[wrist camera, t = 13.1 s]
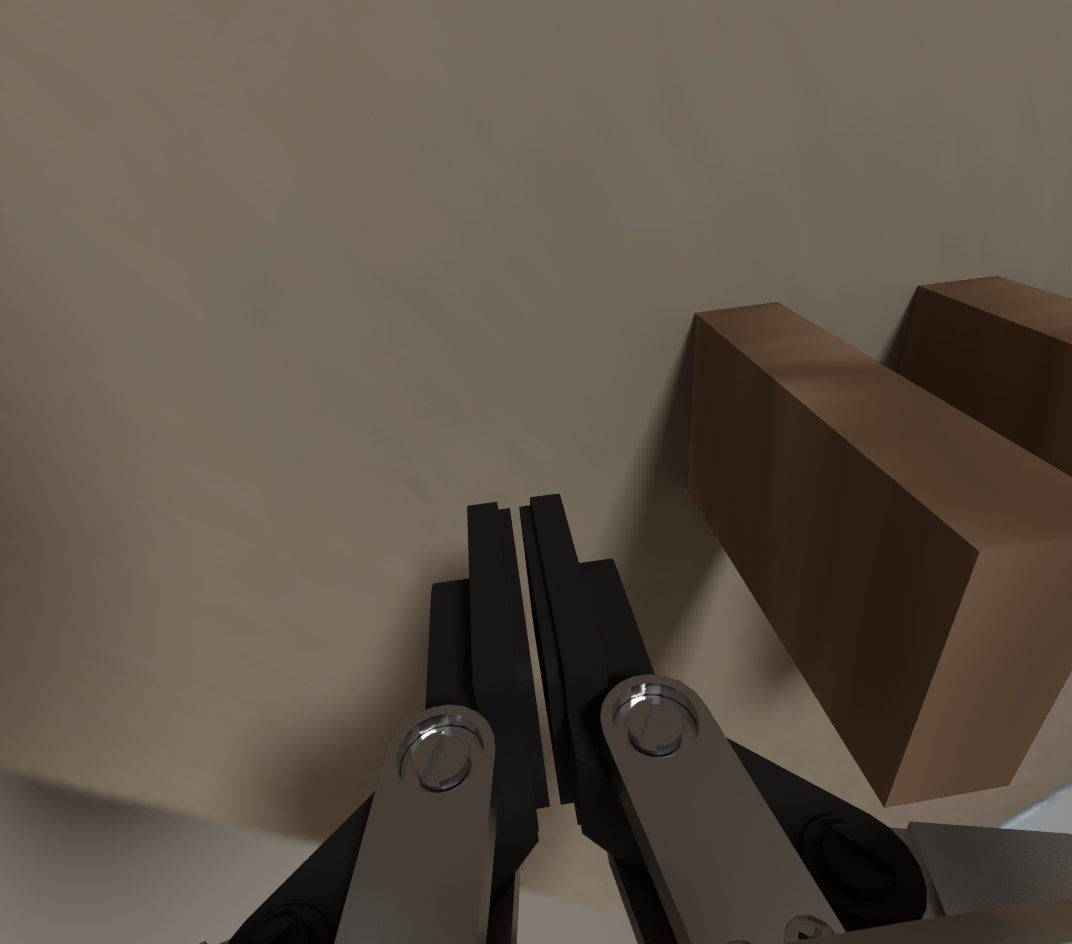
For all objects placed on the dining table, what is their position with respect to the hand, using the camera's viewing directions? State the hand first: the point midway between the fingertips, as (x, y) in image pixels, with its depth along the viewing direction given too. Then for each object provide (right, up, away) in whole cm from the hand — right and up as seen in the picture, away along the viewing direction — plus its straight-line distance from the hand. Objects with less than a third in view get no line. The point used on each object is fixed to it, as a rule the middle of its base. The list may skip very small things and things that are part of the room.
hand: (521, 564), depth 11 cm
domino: (+5, +3, +4) cm, 8 cm away
